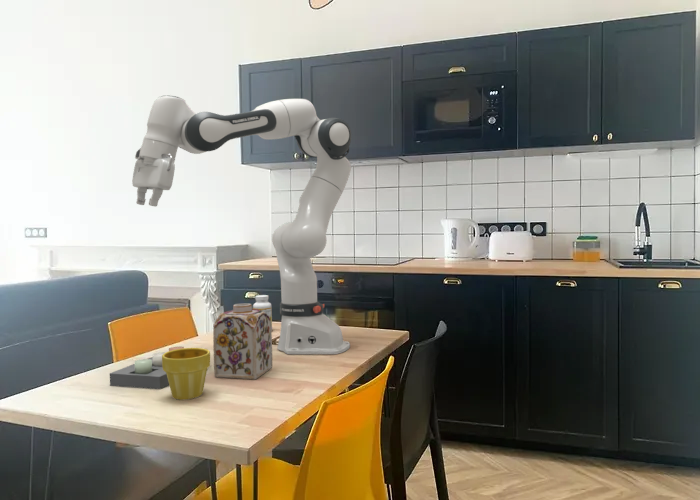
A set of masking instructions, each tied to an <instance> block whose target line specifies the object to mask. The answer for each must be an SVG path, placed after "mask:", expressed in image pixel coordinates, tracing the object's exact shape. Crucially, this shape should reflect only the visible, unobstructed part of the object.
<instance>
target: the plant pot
mask: <svg viewBox="0 0 700 500" xmlns="http://www.w3.org/2000/svg"><path fill="white" fill-rule="evenodd" d="M163 353H164V354H163V355H162V366H163V370H164V371H165V372H166V374H167V378H168V382H169V385H168V386H169V389H170V393H171V397H172V398H173V399H174V400H179V401H180V400H181V401H184V400H185V401H186V400H187V401H188V400H193V399H197V398H199V397H201V396H202V395H203V393H204V388H205V384H206V383H205V382H206V377H207V372H208V369H209V367H211V351H210V350H209V349H207V348H202V347H184V348H182V349H176V350H171V351H169V350H168V351H166V352H163Z"/></svg>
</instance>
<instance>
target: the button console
mask: <svg viewBox="0 0 700 500" xmlns="http://www.w3.org/2000/svg"><path fill="white" fill-rule="evenodd" d="M147 359H151V360H152V372H151V373H148V374H146V375H145V374H135V364H134V363H133V364H131V365H128V366H125V367H122V368H120V369H117V370H114V371H113V372H109V386H113V387H121V388H123V387H126V388H135V389H136V388H138V389H150V390H151V389H152V390H162V389H164V388H165V387H166V388H167V387H168V386H169V382H168V378H167V374H166V372H165V371H164V370H163V367H155V366H153V359H152V356H151V357H148V358H147Z"/></svg>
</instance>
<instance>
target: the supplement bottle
mask: <svg viewBox="0 0 700 500" xmlns="http://www.w3.org/2000/svg"><path fill="white" fill-rule="evenodd" d="M254 299H255V303H253V305H252V309H259V310H262V311H264V312H266V314H267V315H268V316H269V317H270V318H271V331H272V330H273V320H272V319H273V316H272V315H273V313H272V311H273V310H272V303H271V302H269V299H270V298H269V294H268V295H266V294H260V295H259V294H258V295H255V298H254Z"/></svg>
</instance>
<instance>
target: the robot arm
mask: <svg viewBox="0 0 700 500" xmlns="http://www.w3.org/2000/svg"><path fill="white" fill-rule="evenodd" d="M147 118H148V120H147V123H146V126H147V128H146V129H147V130H146V133H145V134H144V137H143V140H142V144H141V146H140V148H139V149H137V151H136V152H135V155H134V156H135V157H134V158H135V160H136V161H135V165H134V169H133V174H132V183H131V184H132V186H133V187H134V188H137V190H136V196H137V199H136V205H140V206H144V205H145V204H146V200H147V199H146V194H147V192H148V190H152V195H151V196H150V198H149V201H148V206H151V207H158V206H159V205H158V203H159V201H160V199H161V197H162V195H163V192H164V191H170V190H171V189H172V185H173V181H174V176H175V170H176V169H175V168H176V167H175V166H176V165H175V161H176V157H177V153H178V149H179V148H180V149H182V150H183V151H186V152H188V153H189V154H190V153H191V154H193V155H201V154H203V153H206V152H213V151H216V150H218V149H219V148H220V147H222V146H223V145H225V144H226V143H227V142H229V141H232V140H234V139H240V138H244V137H250V136H258V137H260V138H261V139H263V140H281V139H285V138H289V137H294V138H295V140H296V143H297V146H298V148H299V150H300V151H301V153H302V154H303V155H304V156H307V157H310V158H316V161H317V162H316V166H315V170H314V171H313V173H312V174H311V177H310V178H309V180H308V181H307V184H306V186H305V188H304V189H303V191H302V193H301V195H300V197H299V202H298V203H299V205H298V209H297V211H296V212H297V213H296V216H295V218H294V220H293V221H291V222H290V221H287V222H285V223H282V224H281V225H279V226H278V227H277V228H276V229H275V230H274V232H273V233H272V236H271V237H272V238H271V241H272V246H273V247H274V249H275V253H276V260H277V265H278V270H279V277H280V288H281V289H280V293H281V295H280V296H281V298H280V299H281V302H280V303H279V315H280V316H279V317H280V322H281V323H280V332H279V339H278V343H277V350H278V351H281V352H284V353H285V354H287V355H337V354H338V355H339V354H341V353H344V352H346V351H348V350H349V349H350V348H351V343H350V342H349V341H347V340H346V341H345V340H344V337H343V332H342V328H341V327H340V325H339V324H337V323H336V322H335V321H333V320H332V319H331V318H329V317H328V316H327V315H325V314H324V308H325V303H323V304H322V303H321V302H320V301H318V277H317V274H316V272H315V270H314V267H313V263H312V260H311V259H312V258H314V257H316V256H318V255H321V253H322V252H324V249H325V248H326V246H327V245H326V244H327V230H328V227H329V223H330V221H331V220H330V219H331V217H332V214H333V212H334V210H335V208H336V206H337V204H338V203H339V201H340V199H341V196H342V194H343V192H344V190H345V188H346V186H347V183H348V180H349V178H350V173H351V171H352V166H351V165H352V164H351V162H350V161H349V160H348V158H347V156H348V154H349V152H350V145H351V142H352V131H351V127H350V126H349V123H347V122H346V121H345V120H344V119H342V118H338V117H328V118H325V119H324V118H323V119H321V118H319V117H318V116H317V111H316V108H315V106H314V105H313V103H312V102H311V101H310V100H308V99H307V98H285V99H277V100H272V101H268V102H266V103H263V104H260V105H258V106H256V107H255V108H254V109H253V110H249V111H246V112H240V113H239V112H238V113H235V114H227V115H224V114H223V115H222V114H218V113H214V112H210V111H200V112H197V113H196V112H195V111H194V110H193V109H192V108H191V107H190V106H189V105H188V103H187V102H186V100H185V99H184V98H181V97H179V96H175V95H161V96H158V97H157V98H156V99H155V100H154V101H153V103H152V106H151V109H150V111H149V116H148V117H147Z"/></svg>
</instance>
